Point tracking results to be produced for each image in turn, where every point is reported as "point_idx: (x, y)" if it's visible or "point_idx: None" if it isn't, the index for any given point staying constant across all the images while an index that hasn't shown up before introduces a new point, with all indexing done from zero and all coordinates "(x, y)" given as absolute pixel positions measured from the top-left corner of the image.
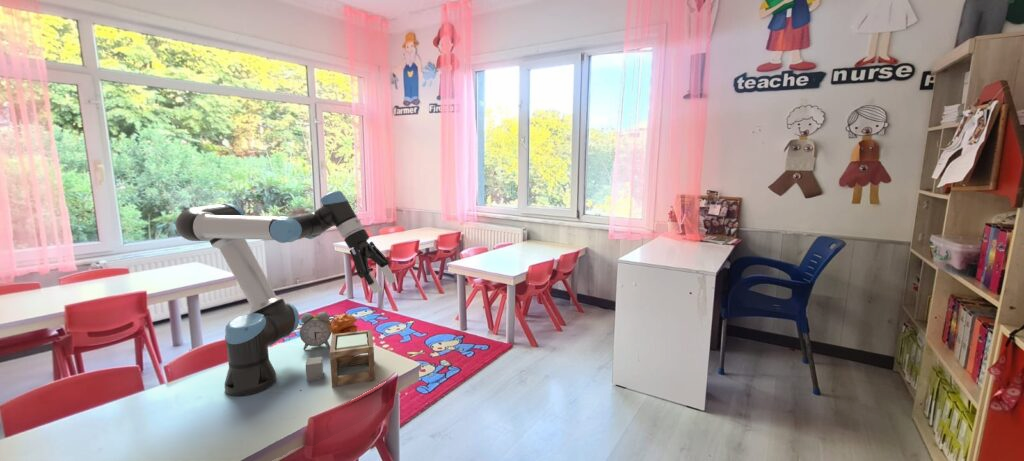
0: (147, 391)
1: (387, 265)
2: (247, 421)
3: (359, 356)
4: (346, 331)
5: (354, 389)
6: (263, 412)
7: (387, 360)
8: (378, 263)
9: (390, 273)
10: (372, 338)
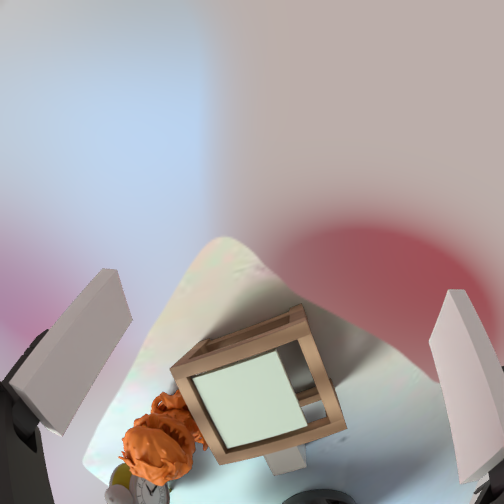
0: None
1: (16, 379)
2: (433, 457)
3: None
4: (180, 436)
5: (344, 336)
6: (413, 453)
7: (196, 305)
8: (40, 478)
9: (77, 328)
10: (240, 346)
